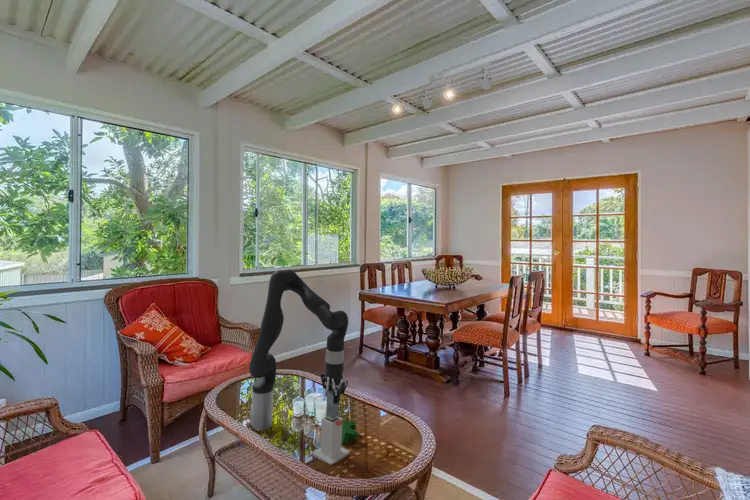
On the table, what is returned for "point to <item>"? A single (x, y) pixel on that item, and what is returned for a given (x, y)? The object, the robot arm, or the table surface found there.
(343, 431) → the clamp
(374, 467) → the table surface
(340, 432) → the stand housing
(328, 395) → the column
